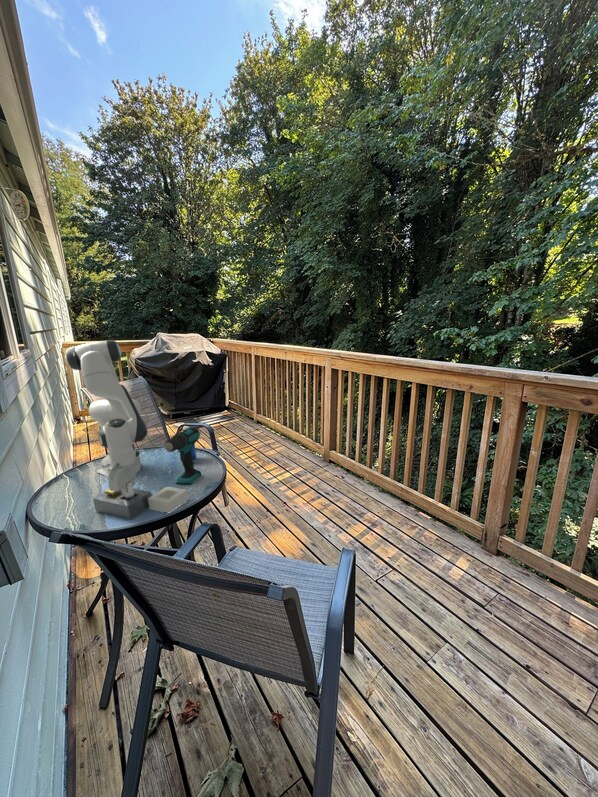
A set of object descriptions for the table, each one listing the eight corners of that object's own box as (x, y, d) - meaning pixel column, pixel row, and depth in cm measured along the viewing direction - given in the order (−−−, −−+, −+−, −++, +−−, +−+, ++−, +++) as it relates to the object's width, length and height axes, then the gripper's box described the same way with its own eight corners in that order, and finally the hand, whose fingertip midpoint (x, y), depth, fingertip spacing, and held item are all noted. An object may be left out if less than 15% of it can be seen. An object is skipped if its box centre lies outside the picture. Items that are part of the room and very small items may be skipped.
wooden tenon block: (106, 506, 149) (103, 491, 147) (116, 501, 153) (113, 485, 151) (115, 508, 147) (112, 492, 145) (125, 502, 151) (122, 487, 149)
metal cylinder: (124, 510, 146) (119, 484, 143) (132, 505, 149) (127, 479, 146) (131, 511, 144) (126, 485, 141) (139, 506, 148) (134, 481, 145)
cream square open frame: (149, 509, 146) (147, 498, 145) (168, 496, 156) (167, 486, 154) (170, 513, 142) (168, 502, 140) (188, 500, 151) (186, 490, 150)
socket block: (95, 511, 147) (92, 498, 145) (119, 497, 157) (117, 485, 156) (130, 519, 139) (128, 506, 137) (153, 504, 150) (151, 491, 148)
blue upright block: (195, 463, 189) (191, 436, 186) (179, 465, 189) (175, 437, 185) (198, 457, 198) (194, 430, 194) (183, 458, 197) (179, 432, 193)
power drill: (181, 495, 156) (173, 443, 150) (163, 494, 158) (155, 442, 152) (207, 470, 181) (201, 424, 175) (191, 469, 183) (185, 423, 177)
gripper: (117, 469, 131) (123, 502, 134) (141, 449, 151) (146, 478, 154) (100, 470, 131) (107, 503, 135) (126, 449, 151) (132, 478, 154)
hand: (128, 489), depth 145 cm, fingers closed on metal cylinder, 4 cm apart
